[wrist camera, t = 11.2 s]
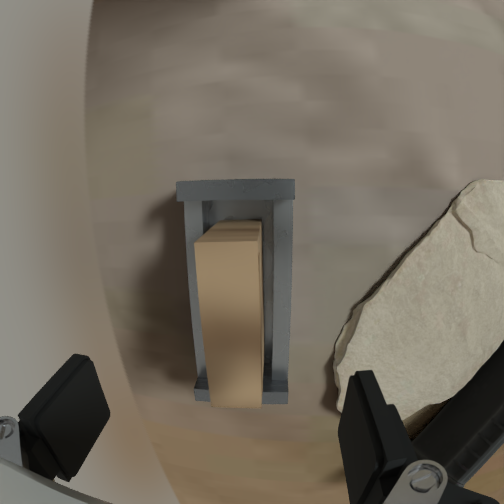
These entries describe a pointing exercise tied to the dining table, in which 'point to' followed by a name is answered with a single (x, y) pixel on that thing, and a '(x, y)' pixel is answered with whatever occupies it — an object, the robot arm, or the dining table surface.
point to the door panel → (232, 311)
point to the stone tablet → (433, 308)
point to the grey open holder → (274, 264)
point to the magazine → (468, 424)
